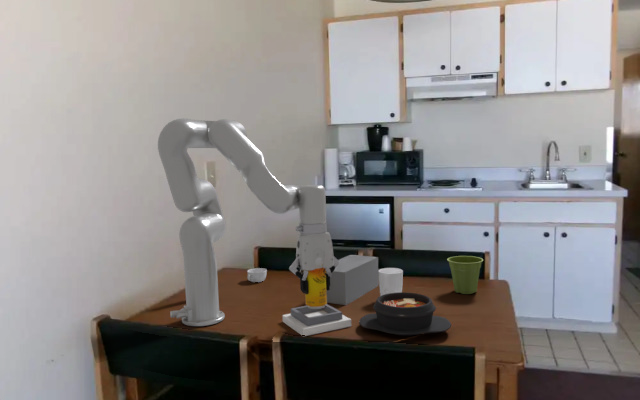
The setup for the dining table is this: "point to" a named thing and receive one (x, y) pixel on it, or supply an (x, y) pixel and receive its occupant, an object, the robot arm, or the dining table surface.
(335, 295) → the grey rectangular block
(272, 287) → the dining table surface
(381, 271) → the white cup
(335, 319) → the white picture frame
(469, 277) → the plant pot
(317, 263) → the beer can
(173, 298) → the dining table surface
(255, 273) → the teacup
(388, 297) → the casserole
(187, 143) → the robot arm
